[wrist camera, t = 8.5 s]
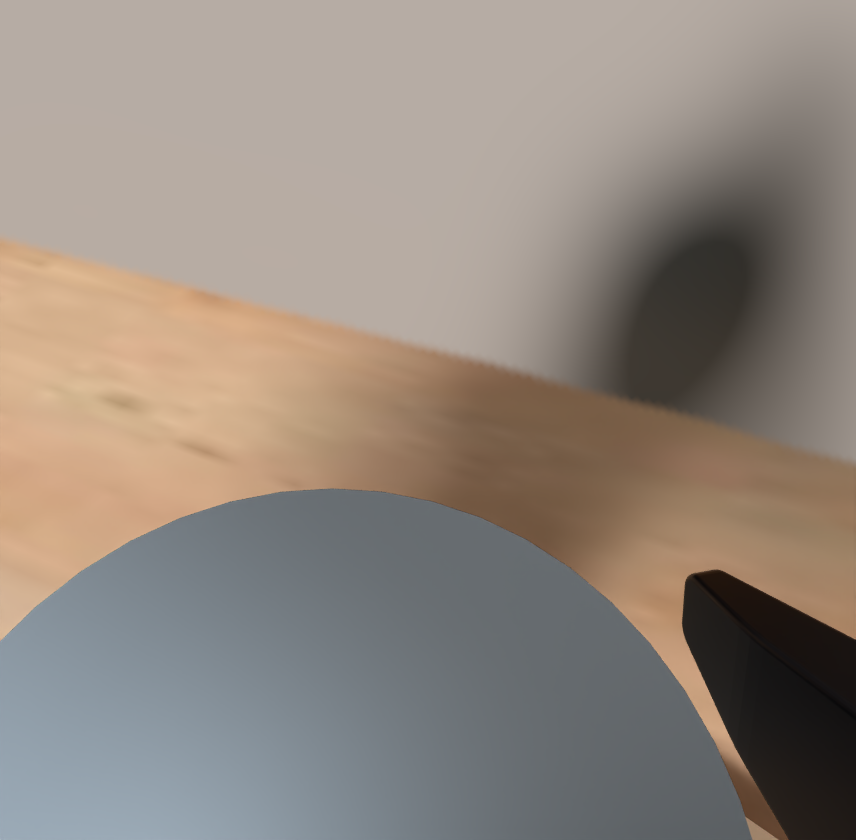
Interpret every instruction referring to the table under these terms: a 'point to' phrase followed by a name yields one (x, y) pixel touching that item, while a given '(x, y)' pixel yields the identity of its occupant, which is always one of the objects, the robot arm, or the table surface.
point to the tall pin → (346, 690)
